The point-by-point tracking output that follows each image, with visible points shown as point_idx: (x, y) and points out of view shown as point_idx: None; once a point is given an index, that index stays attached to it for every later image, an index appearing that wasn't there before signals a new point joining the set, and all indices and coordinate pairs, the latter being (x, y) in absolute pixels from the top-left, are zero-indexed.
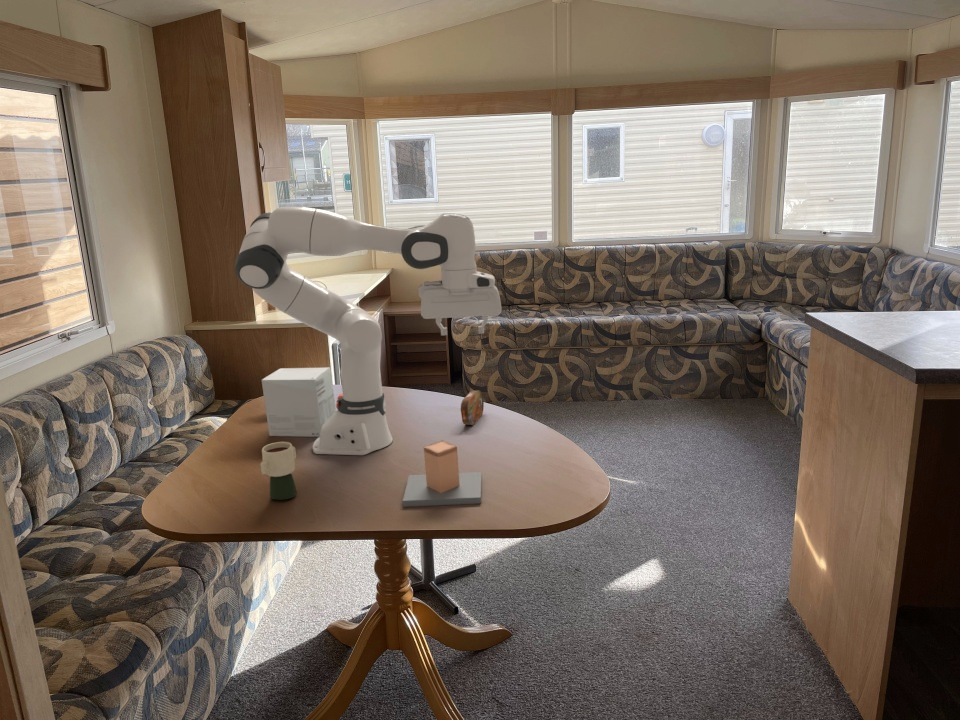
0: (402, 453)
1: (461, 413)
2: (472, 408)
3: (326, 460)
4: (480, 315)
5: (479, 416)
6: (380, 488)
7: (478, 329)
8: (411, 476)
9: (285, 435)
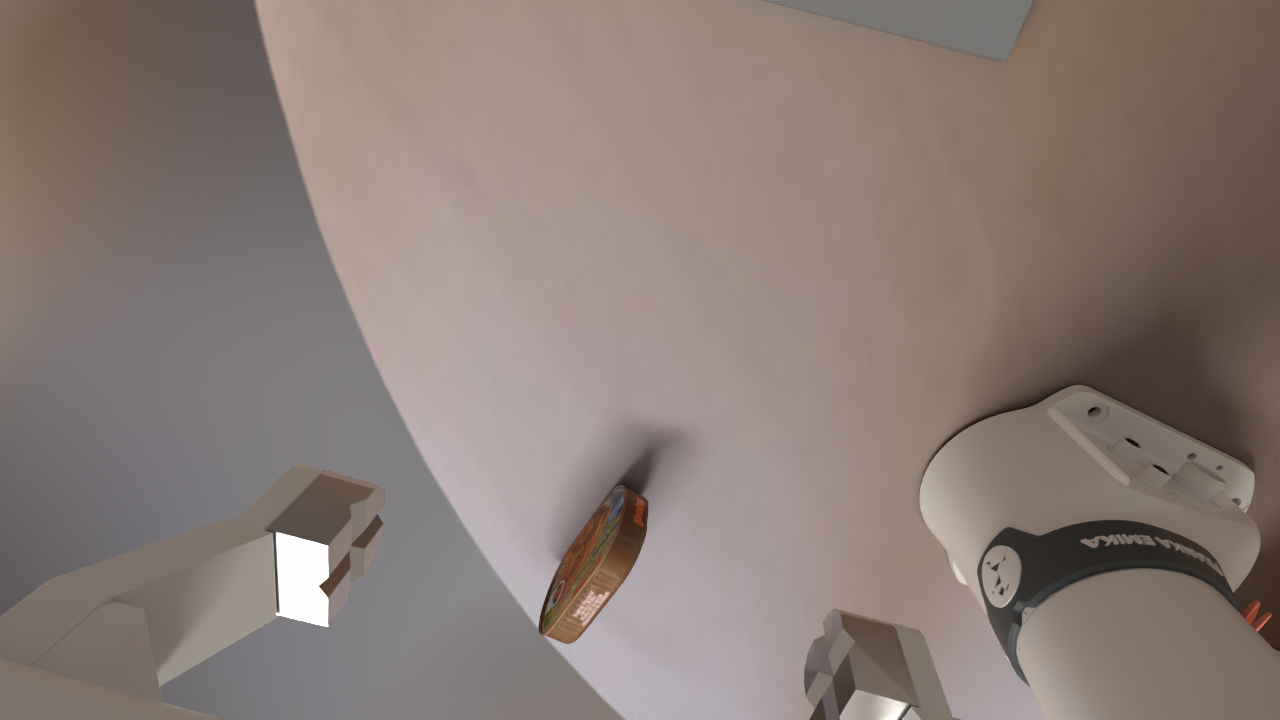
0: (927, 349)
1: (646, 518)
2: (596, 548)
3: (1231, 394)
4: (68, 687)
5: (575, 545)
6: (1145, 21)
7: (347, 519)
8: (1001, 42)
9: (1278, 651)
